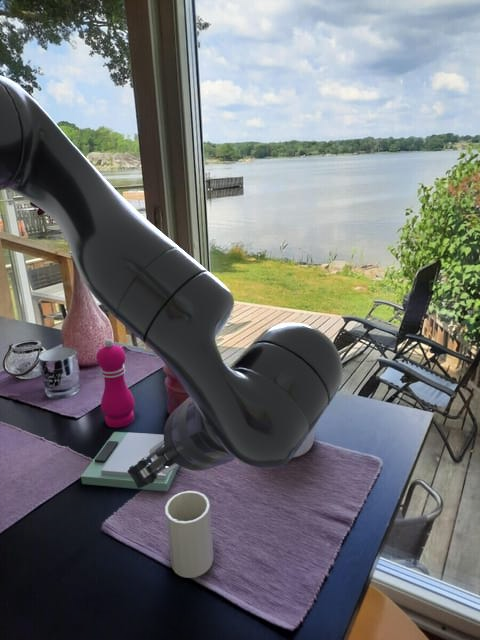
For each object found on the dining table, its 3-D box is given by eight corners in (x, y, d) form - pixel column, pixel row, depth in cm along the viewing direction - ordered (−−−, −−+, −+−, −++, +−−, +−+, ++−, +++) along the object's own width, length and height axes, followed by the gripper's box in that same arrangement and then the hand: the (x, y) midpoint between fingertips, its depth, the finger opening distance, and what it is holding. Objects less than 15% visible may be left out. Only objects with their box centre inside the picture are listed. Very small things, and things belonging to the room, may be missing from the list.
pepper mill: (122, 410, 104) (111, 330, 97) (143, 419, 100) (133, 337, 93) (97, 424, 98) (83, 341, 92) (118, 434, 94) (105, 348, 88)
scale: (82, 486, 79) (79, 472, 78) (115, 440, 92) (113, 428, 91) (167, 494, 77) (166, 479, 76) (189, 445, 90) (188, 433, 89)
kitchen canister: (187, 393, 110) (181, 327, 104) (233, 403, 105) (230, 334, 99) (156, 420, 99) (148, 347, 93) (206, 432, 94) (201, 356, 88)
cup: (165, 578, 61) (158, 520, 58) (178, 543, 66) (172, 489, 63) (208, 583, 60) (203, 525, 57) (217, 547, 65) (213, 492, 62)
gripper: (238, 364, 49) (198, 397, 63) (128, 438, 42) (110, 456, 56) (277, 420, 48) (228, 441, 62) (171, 506, 41) (143, 507, 55)
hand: (172, 448), depth 59 cm, fingers open, 8 cm apart
